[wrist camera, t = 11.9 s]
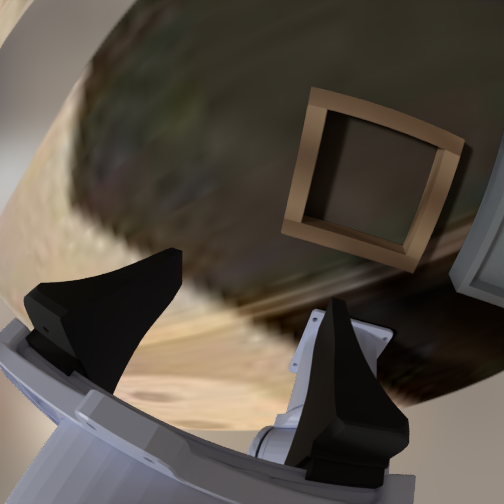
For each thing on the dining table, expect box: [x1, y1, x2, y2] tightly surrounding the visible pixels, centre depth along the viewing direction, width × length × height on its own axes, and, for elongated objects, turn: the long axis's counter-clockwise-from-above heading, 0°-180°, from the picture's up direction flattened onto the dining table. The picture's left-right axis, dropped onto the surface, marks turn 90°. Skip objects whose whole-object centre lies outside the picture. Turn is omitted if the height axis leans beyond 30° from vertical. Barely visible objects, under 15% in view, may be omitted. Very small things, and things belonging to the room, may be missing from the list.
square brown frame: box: [281, 87, 465, 273], centre depth 18 cm, size 10×10×2 cm
